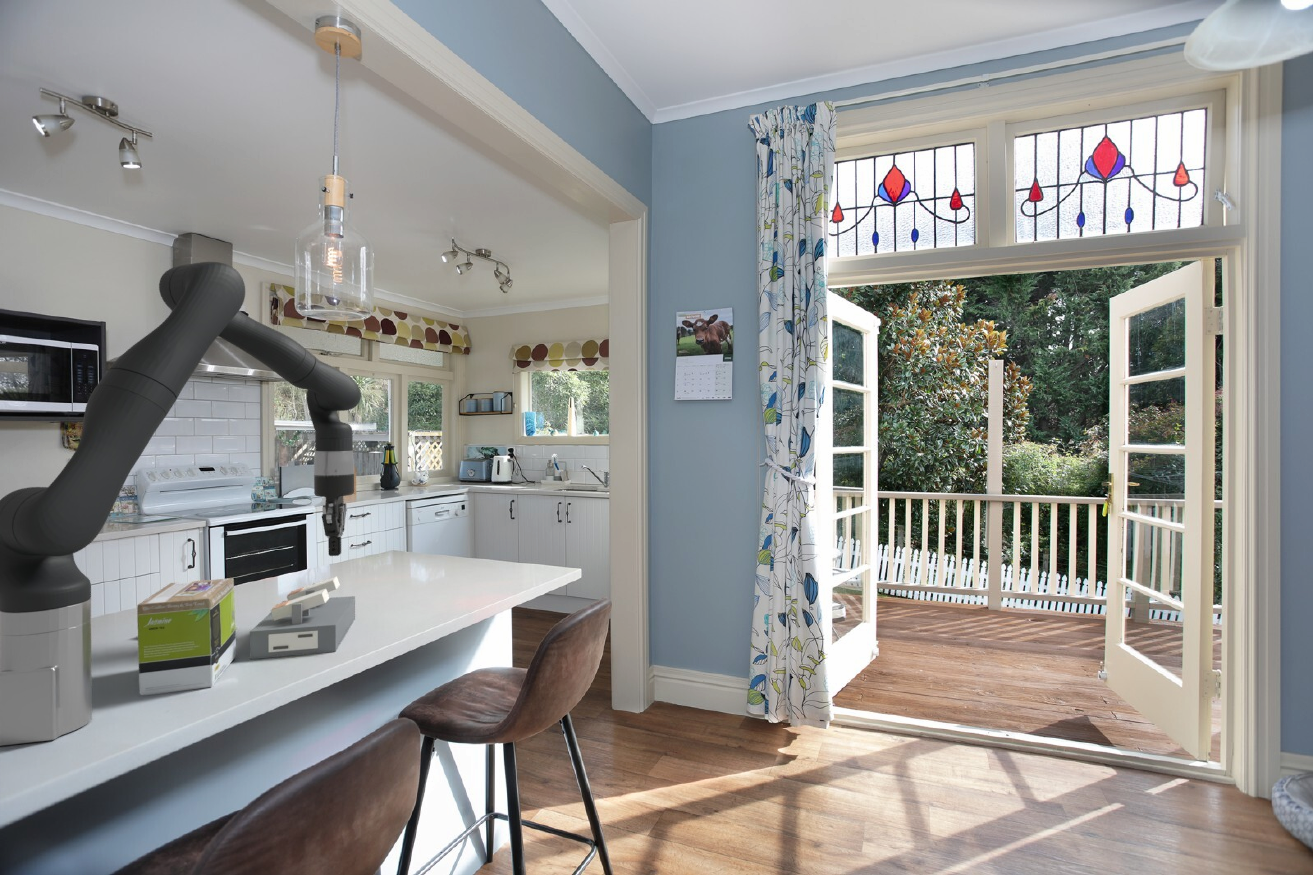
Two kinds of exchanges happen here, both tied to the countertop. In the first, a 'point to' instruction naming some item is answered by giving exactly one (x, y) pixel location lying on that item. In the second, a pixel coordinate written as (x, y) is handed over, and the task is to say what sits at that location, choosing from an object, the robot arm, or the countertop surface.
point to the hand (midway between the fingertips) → (335, 555)
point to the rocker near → (307, 602)
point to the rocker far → (315, 588)
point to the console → (304, 629)
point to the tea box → (186, 636)
